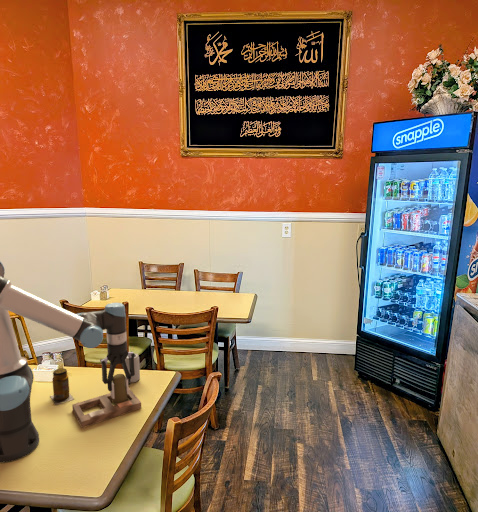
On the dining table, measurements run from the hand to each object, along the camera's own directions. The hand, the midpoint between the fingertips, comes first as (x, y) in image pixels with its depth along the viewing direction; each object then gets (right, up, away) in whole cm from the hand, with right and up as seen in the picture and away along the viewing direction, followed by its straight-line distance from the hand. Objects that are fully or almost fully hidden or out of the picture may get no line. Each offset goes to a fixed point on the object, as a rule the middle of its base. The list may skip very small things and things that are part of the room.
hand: (119, 394), depth 158 cm
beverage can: (0, 0, +20) cm, 20 cm away
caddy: (-4, -4, -3) cm, 7 cm away
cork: (0, -2, 0) cm, 2 cm away
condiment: (-26, -3, +4) cm, 26 cm away
